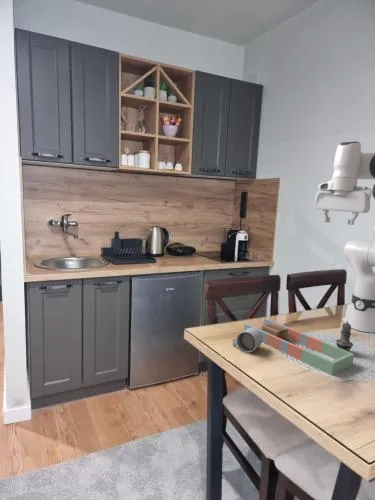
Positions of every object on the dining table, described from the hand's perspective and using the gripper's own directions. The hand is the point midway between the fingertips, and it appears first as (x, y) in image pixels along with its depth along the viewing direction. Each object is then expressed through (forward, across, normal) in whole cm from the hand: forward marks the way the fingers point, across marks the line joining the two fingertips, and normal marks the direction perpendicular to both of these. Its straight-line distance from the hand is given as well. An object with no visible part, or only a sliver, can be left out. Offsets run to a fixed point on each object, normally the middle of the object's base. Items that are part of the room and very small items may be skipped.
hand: (338, 223), depth 130 cm
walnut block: (+47, +11, +16) cm, 51 cm away
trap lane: (+47, +2, +16) cm, 50 cm away
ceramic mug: (+47, +11, +32) cm, 59 cm away
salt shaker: (+47, -10, +2) cm, 48 cm away
